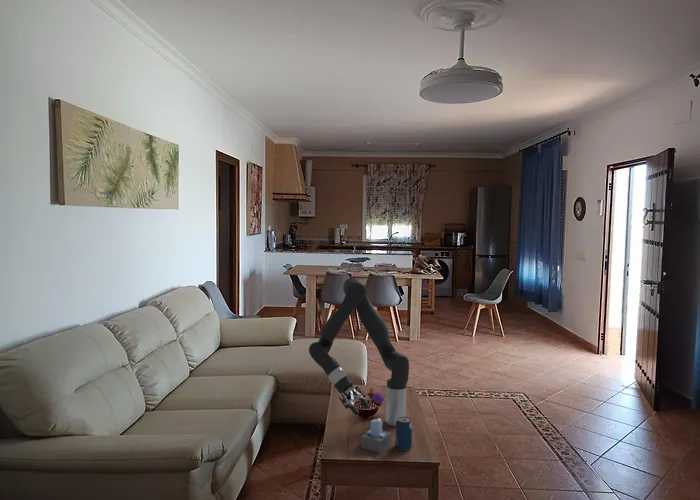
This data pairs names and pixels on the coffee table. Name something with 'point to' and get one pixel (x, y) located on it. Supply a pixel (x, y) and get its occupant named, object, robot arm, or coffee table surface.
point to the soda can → (403, 433)
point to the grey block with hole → (376, 442)
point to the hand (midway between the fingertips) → (362, 411)
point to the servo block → (376, 428)
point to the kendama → (376, 396)
